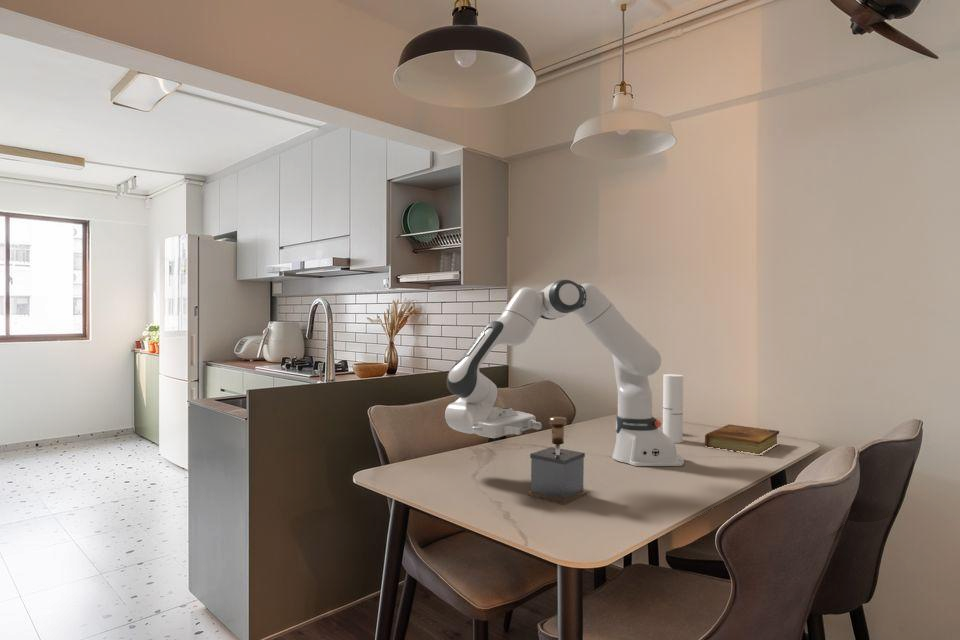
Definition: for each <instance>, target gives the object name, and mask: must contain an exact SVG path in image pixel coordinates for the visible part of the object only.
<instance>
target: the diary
mask: <svg viewBox="0 0 960 640" xmlns="http://www.w3.org/2000/svg"><path fill="white" fill-rule="evenodd" d="M779 434H780V431H779V430H775V429H767V428H760V427H752V426H744V425H738V424H737V425H736V424H731V423H730V424H726V425H724V426H722V427H720V428H719V427H718V428H717V429H714V430H712V431H710V432H708V433H705V435H704V447H705V446H707V447H713V448H720V449H727V450H733V451H740V452H741V451H743V452H750V453H755V454H760V453H762V452H763V451H765V450H767V449H768V448H770V447H772V446H773V445H775V444H777V443H778V435H779ZM707 447H706V448H707ZM713 448H712V449H713Z"/></svg>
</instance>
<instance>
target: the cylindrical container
mask: <svg viewBox="0 0 960 640" xmlns="http://www.w3.org/2000/svg"><path fill="white" fill-rule="evenodd" d="M662 379H663V385H662V391H663V392H662V432H663V433H664V434H665V435H666V436H668V437H669V438H670V439H671V440H672V441H673V442H674V444H682V443H683V433H684V430H683V427H684V426H683V425H684V423H683V421H684V375H683V374H678V373H677V374H676V373H675V374H674V373H673V374H672V373H665V374H663V378H662ZM681 442H682V443H681Z"/></svg>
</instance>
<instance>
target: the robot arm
mask: <svg viewBox="0 0 960 640" xmlns="http://www.w3.org/2000/svg"><path fill="white" fill-rule="evenodd" d="M570 313H573V314H576V315H577V316H578V317H579V318H580V320H581V321H582V322H583V323H584V325H585V326H586V327H587V329H589V331H590V332H591V333H592V334H593V336H594V337H596V339H597V340H598V341H599V342H600V344H602V345H603V346H604V347H605V348H606V349H607V350H608V351H609V352H610V353H611V359H612V362H613V366H614V375H615V382H616V387H617V388H616V389H617V415H616V417H615V418H616V419H615V432H616V436H615V437H616V438H615V445H614V449H613V453H612V455H611V457H612V459H613V460H614V461H618V462H621V463H625V464H629V465H632V466H636V467H681V466H683V465H684V464H685V461H684V458H683V457H682V455H679V454H677V449H676V448H677V447H676V443H674V442H673V441H672V440H671V439H670V438H669V437H668V436H666V435H665V434H664V433H663V431H662V430H661V429H660V427H661V426H662V422H661V420H659V419H657V418H656V417H654V416H653V391H652V389H651V386H650V383H649V382H650V381H649V377H648V376H651V375H654V374H656V373H657V371H658V370H659V369H660V367H661V364H662V356H661V355H660V352H659V351H658V350H657V348H656V347H654V346H653V345H652V344H651V343H650V342H649V341H648V340H647V339H646V338H645V337H644V336H643V335H642V334H641V333H640V332H639V331H638V330H637V329H636V328H635V327H634V326H632V325H631V324H630V323H629V322H628V320H627V319H626V318H625V317H624V316H623V314H622V313H621V312H620V311H619V310H618V308H617V307H616V306H615V305H614V304H613V302H611V300H610V298H609V297H607V296H606V295H605V294H604V293H603V291H601V290H599V288H597V286H595V285H594V284H593V283H589V282H585V283H582V284H578V283H577V282H575V281H573V280H570V279H560V280H557V281H555V282H552V283H550V284H548V285H547V286H546V287H545V288H543V289H542V290H540V291H538V290H536V289H534V288H532V287H528V286H527V287H526V286H524V287H521V288H520V289H518V290H517V291H516V293H514V295H513V296H512V297H511V299H510V300H509V301H508V302H507V304H506V306H505V308H504V309H503V311H502V313H501V314H500V316H499V317H497V319H496V320H494V321H493V320H492V321H490V322H489V323H487V325H486V326H485V327H484V328H483V329H482V330H481V331H480V333H479V334H478V336H476V338H475V340H474V341H473V342H472V343H471V345H470V346H469V347H468V349H467V350H466V351H465V353H464V354H463V356H462V357H461V358H460V359H459V360H458V361H457V362H456V363H455V364H454V365H453V366H452V367H451V368H450V369H449V371H448V372H447V376H446V387H447V390H448V391H449V393H451V395H454V396H456V397H458V399H456V400H455V401H454V402H451V403H449V404H448V405H447V406H446V408H445V412H444V419H445V422H446V424H447V425H448V426H449V428H451V429H452V430H455V431H457V432H461V433H464V434H471V435H472V434H475V435H477V436H479V437H485V438H491V439H497V438H501V437H504V436H508V435H516V436H517V435H522V433H523V431H526V430H529V429H530V430H531V429H533V430H541V429H542V427H543V426H542V422H539V421H536V419H537V418H536V416H535V415H534V414H532V413H528V412H524V411H518V410H513V408H512V407H496V406H495V405H496V402H497V400H498V396H499V390H498V387H497V385H496V384H495V382H493V381H492V380H491V379H489V378H488V377H487V376H485V374H483V373H482V372H480V367H481V365H482V364H483V362H484V361H485V360H486V358H487V357H488V356H489V354H490V352H492V350H493V349H494V348H495V347H496V346H498V345H506V346H510V347H515V346H520V345H522V344H525V342H527V340H528V339H529V338H530V336H531V334H532V333H533V331H534V328H535V327H536V325H537V323H538V321H539V320H540V319H543V320H550V321H551V320H556V319H560V318H563V317H565V316H567V315H569V314H570Z"/></svg>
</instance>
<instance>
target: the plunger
mask: <svg viewBox="0 0 960 640" xmlns="http://www.w3.org/2000/svg"><path fill="white" fill-rule="evenodd" d="M549 425H550V426H551V444H553V445H555V447H554V448H555V454H556V455H560V449H561V445H563V444H564V442H565V438H564V437H565V426H567V417H565V416H551V417H549Z"/></svg>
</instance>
